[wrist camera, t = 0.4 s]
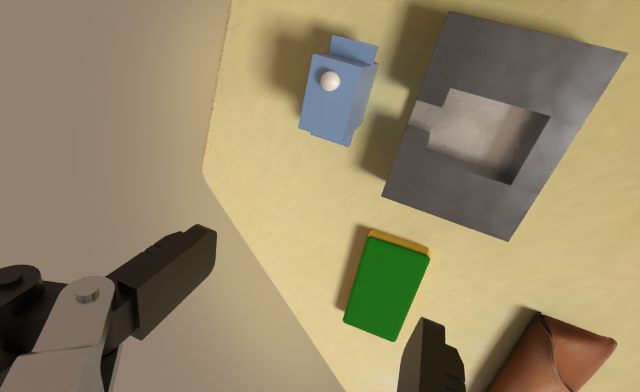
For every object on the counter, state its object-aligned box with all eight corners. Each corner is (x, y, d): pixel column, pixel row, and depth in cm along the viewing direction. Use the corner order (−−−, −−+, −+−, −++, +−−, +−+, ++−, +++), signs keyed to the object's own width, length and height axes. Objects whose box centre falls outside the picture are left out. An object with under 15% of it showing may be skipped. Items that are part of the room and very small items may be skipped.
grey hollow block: (447, 16, 27) (448, 10, 24) (602, 52, 25) (628, 52, 21) (386, 181, 34) (381, 196, 31) (500, 221, 32) (508, 242, 29)
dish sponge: (431, 246, 36) (431, 258, 34) (396, 329, 43) (394, 343, 41) (371, 227, 38) (367, 237, 36) (346, 309, 44) (341, 322, 42)
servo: (322, 126, 35) (291, 146, 27) (343, 36, 30) (313, 31, 23) (356, 138, 34) (334, 161, 27) (383, 47, 30) (365, 45, 22)
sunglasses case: (541, 433, 41) (523, 471, 37) (488, 388, 45) (466, 418, 41) (623, 338, 33) (611, 374, 29) (548, 295, 37) (528, 320, 33)
